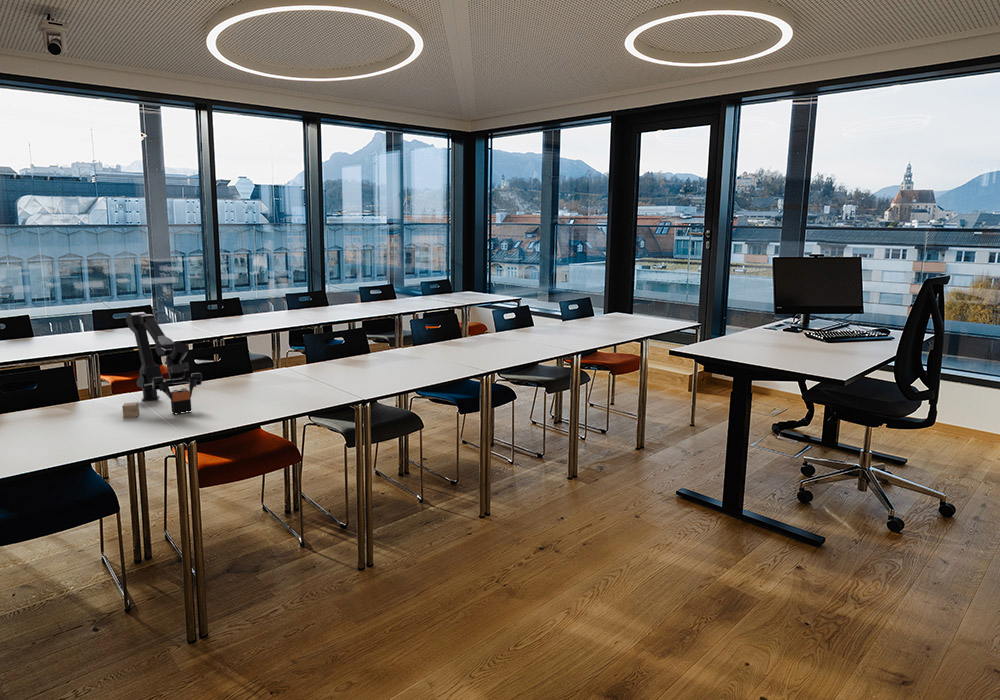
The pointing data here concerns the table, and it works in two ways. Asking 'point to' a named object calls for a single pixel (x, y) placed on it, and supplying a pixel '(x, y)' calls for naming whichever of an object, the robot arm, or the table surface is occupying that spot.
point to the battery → (181, 401)
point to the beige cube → (130, 409)
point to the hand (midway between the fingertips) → (181, 398)
